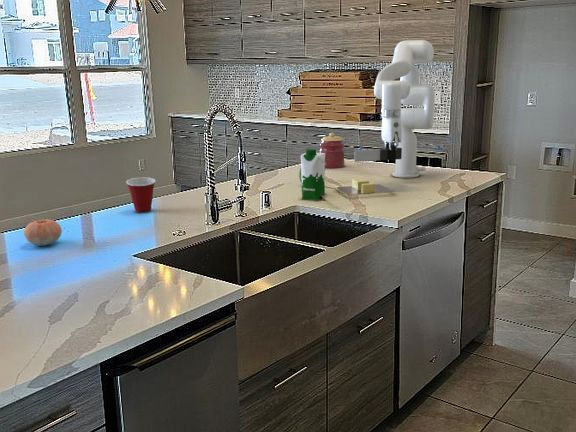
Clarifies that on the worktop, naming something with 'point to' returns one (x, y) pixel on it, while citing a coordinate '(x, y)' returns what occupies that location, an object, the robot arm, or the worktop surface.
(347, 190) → the cutting board
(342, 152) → the kitchen canister
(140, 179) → the plastic cup
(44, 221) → the pumpkin
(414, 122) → the robot arm
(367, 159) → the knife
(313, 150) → the milk carton
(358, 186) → the butter
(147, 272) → the worktop surface
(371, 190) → the butter slice
